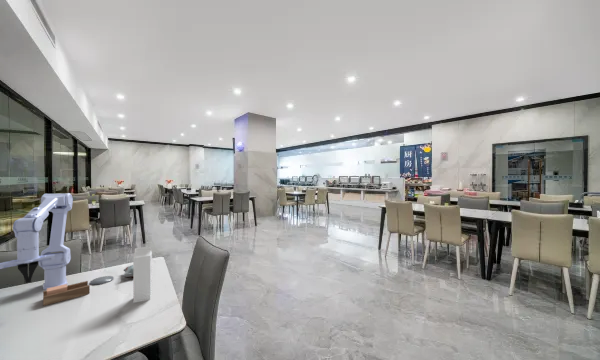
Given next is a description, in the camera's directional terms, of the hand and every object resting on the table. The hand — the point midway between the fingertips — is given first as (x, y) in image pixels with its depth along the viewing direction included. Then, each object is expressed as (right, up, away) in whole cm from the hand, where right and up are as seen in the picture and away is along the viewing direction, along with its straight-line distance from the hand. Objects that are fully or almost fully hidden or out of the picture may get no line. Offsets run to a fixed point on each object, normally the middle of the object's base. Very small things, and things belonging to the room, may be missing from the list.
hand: (28, 281), depth 95 cm
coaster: (+10, -10, +24) cm, 27 cm away
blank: (+5, -10, +6) cm, 13 cm away
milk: (+41, -10, +7) cm, 43 cm away
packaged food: (+18, -11, +32) cm, 38 cm away
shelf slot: (+7, -10, +8) cm, 15 cm away
